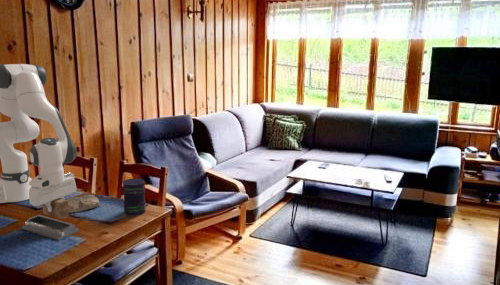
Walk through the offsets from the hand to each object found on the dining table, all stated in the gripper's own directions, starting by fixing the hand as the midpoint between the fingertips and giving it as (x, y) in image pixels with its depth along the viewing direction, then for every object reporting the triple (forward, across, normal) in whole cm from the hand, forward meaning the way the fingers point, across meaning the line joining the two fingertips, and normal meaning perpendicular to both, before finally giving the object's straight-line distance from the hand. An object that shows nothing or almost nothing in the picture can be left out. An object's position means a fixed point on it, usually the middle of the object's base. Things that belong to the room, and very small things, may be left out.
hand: (55, 209), depth 170 cm
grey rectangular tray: (+8, +3, 0) cm, 9 cm away
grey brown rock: (+9, -20, -11) cm, 24 cm away
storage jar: (+8, -29, +17) cm, 34 cm away
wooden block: (+3, 0, 0) cm, 3 cm away
